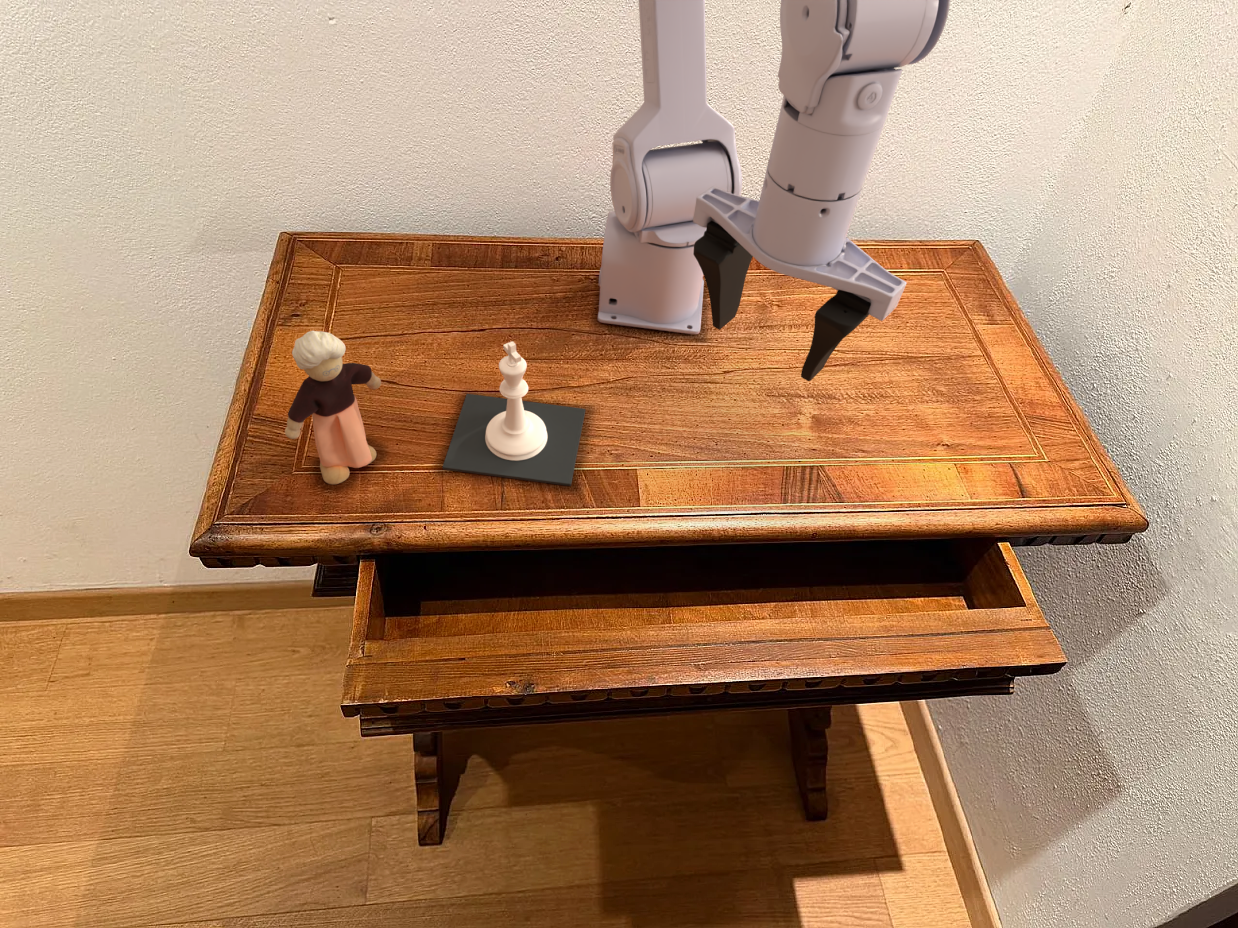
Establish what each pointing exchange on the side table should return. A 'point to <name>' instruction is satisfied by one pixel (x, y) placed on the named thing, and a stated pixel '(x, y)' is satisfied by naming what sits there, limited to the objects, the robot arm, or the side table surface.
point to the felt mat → (544, 467)
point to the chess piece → (515, 415)
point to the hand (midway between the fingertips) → (766, 346)
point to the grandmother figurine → (331, 404)
